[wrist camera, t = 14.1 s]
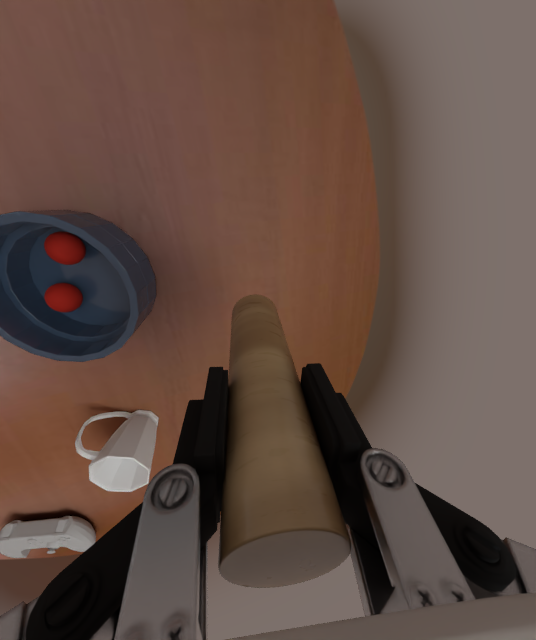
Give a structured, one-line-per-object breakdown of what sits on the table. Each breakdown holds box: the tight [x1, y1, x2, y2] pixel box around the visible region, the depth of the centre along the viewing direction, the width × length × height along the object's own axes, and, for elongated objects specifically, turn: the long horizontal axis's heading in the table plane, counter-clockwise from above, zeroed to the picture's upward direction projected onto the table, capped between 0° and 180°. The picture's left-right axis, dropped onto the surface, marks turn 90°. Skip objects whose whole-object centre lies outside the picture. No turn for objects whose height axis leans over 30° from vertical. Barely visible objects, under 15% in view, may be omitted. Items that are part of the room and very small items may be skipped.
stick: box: [218, 295, 351, 588], centre depth 11 cm, size 3×3×13 cm
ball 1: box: [44, 232, 86, 265], centre depth 23 cm, size 3×3×3 cm
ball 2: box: [44, 283, 83, 312], centre depth 25 cm, size 3×3×3 cm
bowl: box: [0, 210, 156, 362], centre depth 23 cm, size 13×13×6 cm
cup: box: [75, 410, 159, 492], centre depth 31 cm, size 7×10×8 cm
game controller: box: [0, 516, 96, 558], centre depth 42 cm, size 14×4×10 cm
